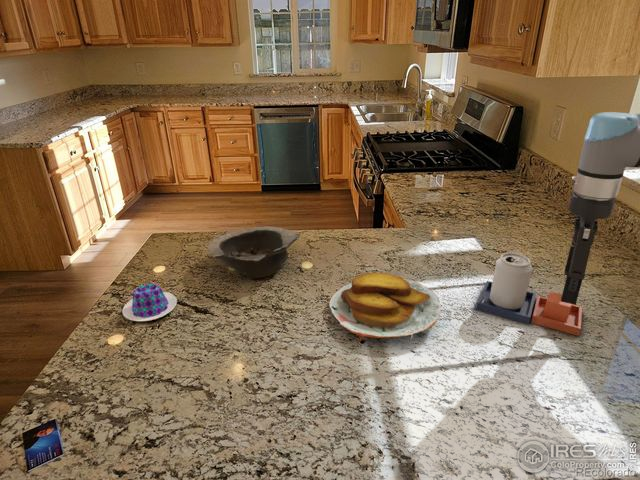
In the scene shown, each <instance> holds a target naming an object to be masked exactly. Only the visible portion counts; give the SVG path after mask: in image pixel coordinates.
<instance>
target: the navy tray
mask: <svg viewBox="0 0 640 480" xmlns="http://www.w3.org/2000/svg"><path fill="white" fill-rule="evenodd" d="M492 282H493V281H490V280H486V282H485V284H484V287H483V289H482V291H481V294H480V295H479V298H478V300H477V302H476V307H475V310H476V311H479V312H483V313H487V314H490V315H494V316H497V317H501V318H505V319H508V320H510V321H514V322H517V323H522V324H525V325H529V324H530V322H531V321H530V320H531V318H532V317H531V316H532V314H533V313H532V312H533V308H534V304H535V301H536V300H535V299H536V295H537V293H536V292H533V291H530V290H527V293H526V297H525V302H524V305H523V306H522V307H521V308H519V309H516V310H506V309H503V308H499V307H497V306H496V305H495V304H494V303H493V302H492V301H491V300H490V292H491V287H492Z"/></svg>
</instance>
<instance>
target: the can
mask: <svg viewBox="0 0 640 480" xmlns="http://www.w3.org/2000/svg"><path fill="white" fill-rule="evenodd" d="M532 272H533V266H532V264H531V259H530V258H529V257H527V256H526V255H524V254H521V253H517V252H504V253H502V254H501V255H500V257H499V258H497V260H496V261H495V268H494V272H493V277H492V281H491V282H492V287H491V292H490V300H491V301H492V302H493V303H494V304H495V305H496V306H497V307H499V308H503V309H506V310H516V309H519V308H521V307H522V306H523V305H524V302H525V297H526V293H527V291H528V289H529V284H530V281H531V276H532Z"/></svg>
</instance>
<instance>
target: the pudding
mask: <svg viewBox="0 0 640 480" xmlns="http://www.w3.org/2000/svg"><path fill="white" fill-rule="evenodd" d="M177 304H178V299H177V297H176V295H174V294H172V293H170V292H167V291H163V289H162V287H161V286H159V285H158V284H157V283H145V284H142V285H139V286H137V287H136V289H135V290H133V292H132V298H131V299H130V300H128V301H127V302H126V303H125V304H124V306H123V308H122V315H123V316H124V318H126V320H130V321H133V322H148V321H152V320H157V319H160V318H162V317H164V316H166V315H168V314H169V313H171V312H172V311H173V310H174V309H175V307H176V306H177Z"/></svg>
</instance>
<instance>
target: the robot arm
mask: <svg viewBox="0 0 640 480" xmlns="http://www.w3.org/2000/svg"><path fill="white" fill-rule="evenodd" d="M583 140H584V141H583V144H582V150H581V154H580V157H579V158H580V159H579V162H578V167H577V171H576V175H572V176H571V180H572V181H574V184H573V189H572V190H573V192H572V193H571V195H570V200H569V202H568V203H569V204H568V208H567V209H568V211H569V212H570V213H571V214H572V215H574V216H577V217H575V219H574V224H573V225H574V226H573V235H572V236H571V238H572V241H571V245H570V247H569V252H568V256H567V259H566V262H565V263H566V264H565V267H564V274H563V275H564V276H566V279H565V282H564V286H563V290H562V293H561V294H562V297H561V302H565V303H570V304H573V305H577V301H578V297H579V295H580V292H581V291H580V290H581V287H582V284H583V280H585V278H586V270H587V266H588V261H589V257H590V253H591V248H592V246H593V244H594V241H595V235H596V234H597V232H598V228H599V225H598V223H599V220H606V219H608V218H611V216H612V214H613V211H614V207H615V204H616V197H618V195H619V193H620V192H619V191H620V188H621V185H622V181H623V178H624V172H625V169H626V168H637V169H638V168H639V169H640V112H638V113H636V114H633V113H627V112H618V111H617V112H614V111H607V112H606V111H604V112H598V113H596V114H594V115H593V116H592V117H591V118H590V120H589V123H588V126H587V129H586V133H585V136H584V137H583Z"/></svg>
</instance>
